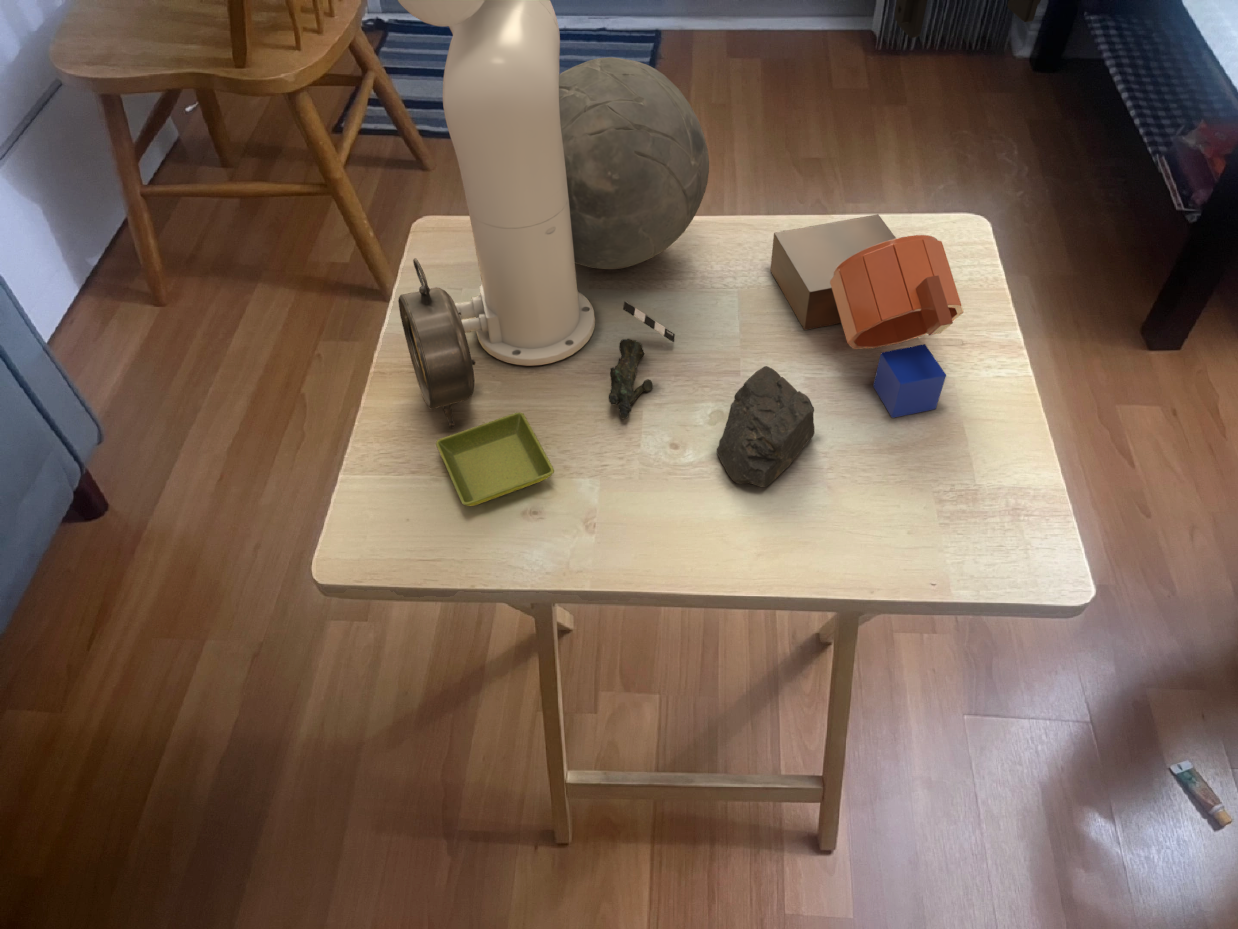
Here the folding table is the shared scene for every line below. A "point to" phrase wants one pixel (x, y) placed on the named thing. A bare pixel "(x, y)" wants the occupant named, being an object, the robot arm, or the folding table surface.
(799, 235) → the stand
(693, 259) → the folding table surface
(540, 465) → the green rectangular tray
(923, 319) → the orange stave bucket
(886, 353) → the cube
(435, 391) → the alarm clock
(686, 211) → the grey scuffed sphere
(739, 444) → the rock
